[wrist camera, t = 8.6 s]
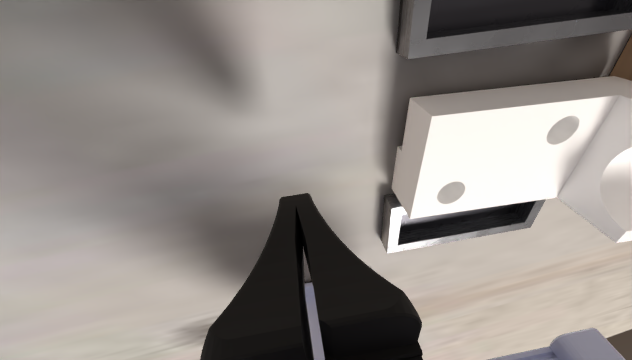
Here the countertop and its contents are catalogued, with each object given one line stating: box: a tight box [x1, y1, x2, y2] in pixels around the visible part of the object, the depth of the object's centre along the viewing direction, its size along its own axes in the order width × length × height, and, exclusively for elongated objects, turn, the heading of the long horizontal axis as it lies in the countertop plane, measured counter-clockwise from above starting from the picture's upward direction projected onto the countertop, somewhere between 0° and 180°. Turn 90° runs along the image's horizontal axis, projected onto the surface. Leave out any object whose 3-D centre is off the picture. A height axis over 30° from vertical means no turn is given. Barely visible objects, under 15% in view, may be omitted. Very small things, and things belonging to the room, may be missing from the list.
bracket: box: [392, 76, 632, 243], centre depth 16 cm, size 13×7×8 cm, turn 93°
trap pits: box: [381, 0, 632, 254], centre depth 18 cm, size 20×12×2 cm, turn 5°
